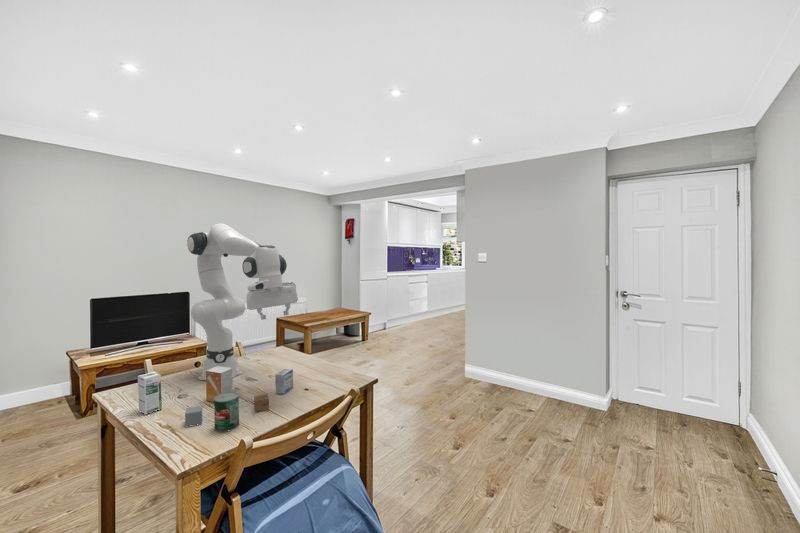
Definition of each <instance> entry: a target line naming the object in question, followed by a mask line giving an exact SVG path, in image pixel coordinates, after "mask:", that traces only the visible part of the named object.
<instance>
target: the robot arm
mask: <svg viewBox="0 0 800 533" xmlns="http://www.w3.org/2000/svg"><path fill="white" fill-rule="evenodd" d="M186 241H187V243H186V246H187V249H188V251H189V252H190V253H191V254H192V255H196V256H197V258H196V265H197V272H198V277H199V282H200V287H201V289H202V290H203V292H205V293H207V294H210V295H211V296H212V297H213V298H214V299H206V300H201V301H199V302H196V303H193V304H194V305H192V307H191V310H190V316H191V318H192V320H193V321H194V322H195V323H196V324H199V325H200V326H201V327H202V328H203V330H204V332H205V335H206V343H207V347H206V352H205V354H206V359H205V360H204V361H203V363H202V365H203V366H202V372H201V374H200V375H199V376H198V380H199V381H202V380H203V381H206V371H207V370H209V369H211V368H214V367H217V366H220V367H227V368H232V379H233V378H235V377H236V376H239V375H241V374H242V371H241V369H240V368H239V367H238V358H237V357H236V356H235V355H234V354H235V352H234V351H235V349H234V345H233V344H234V343H233V332H232V330H230V328H226V327H224V326H223V321H227V320H232V319H236V318H238V317H241V316H242V315H244V313H245V311H246V308H247V309H248V310H250V311H254V310H256V311H257V313H258V314H259V316H260V320H262V321H263V320H267V314H264V313H263V309H266V308H272V307H278V306H283V305H285V306H284V307H286V308H285V310H284V311H282V313H283V316H289V310H290V308H291V304H297V303H298V301H299V297H298V293H297V284H296V283H295V282H293V281H286V282H285V281H283V275H284V273H285V272H286V270H287V266H288V264H287V262H286V259H285V258H284V256H282V255H281V254H279V251H278V249H277V247H276V246H274V245H266V244H265V245H261V244H259V243H258V242H256V241H255V240H252V239H249V238H248V237H246V236H245V235H243V234H241V233H240V232H238V231H237V230H236V229H235V228H234V227H231V226H230V225H228V224H226V223H222V222H220V223H216V224H214V225H212V227H210V230H209V232H203V231H199V232H195V233H191V234H190V235H189V236H188V238H187V240H186ZM228 256H235V257H237V256H238V257H245V259H243V261H242V265H241V266H242V272H243V274H244V275H245V277H247V278H249V279H258V281H257V282H256V281H255V282H254V283H252V284H249V285H248V286H247V291H248V292H247V294H246V303H245V301H244V300H243V299H242V298H241V297H239V296H238V295H236V294H235V293H234V292H233V291H232V289H231V288H230V287H229V284H228V282H227V280H226V275H225V272H224V268H223V265H222V264H223V263H222V257H225V258H228Z"/></svg>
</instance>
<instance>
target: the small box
mask: <svg viewBox="0 0 800 533" xmlns="http://www.w3.org/2000/svg"><path fill="white" fill-rule="evenodd" d="M205 382H206V383H205V385H206V387H205V394H206V395H205V397H206V398H205V401H206V402H211V403H214V397H215V396H217V395H219V394H222V393H226V392H234V391H233V378H232V368H227V367H220V366H217V367H214V368H211V369H209V370H207V371H206V380H205Z"/></svg>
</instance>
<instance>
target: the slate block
mask: <svg viewBox="0 0 800 533" xmlns="http://www.w3.org/2000/svg"><path fill="white" fill-rule="evenodd" d="M184 417H185V418H184V420H185V422H184V423H185V424H184V427H185V426H190V425H196V426H198V425H197V424H201V425H203V424H202V423H203V405H197V406H191V407H187V408H186V409H185V413H184Z"/></svg>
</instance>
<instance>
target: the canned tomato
mask: <svg viewBox="0 0 800 533" xmlns="http://www.w3.org/2000/svg"><path fill="white" fill-rule="evenodd" d="M239 396H240V395H239V393H238V392H235V391H233V392H226V393H222V394H219V395H217V396H215V397H214V402H213V404H214V405H213V407H214V408H213V409H214V410H213V411H214V412H213V413H214V414H213V415H214V430H215V432H217V431H220V432H219V433H223V432H222V431H227V432H229V431H228V430H231V431H233V430H232V429H234V430H235V429H237V428H238V427H239V426H240V413H239V412H240V409H239V408H240V406H239V404H240V402H239V401H240V400H239V399H240V398H239Z"/></svg>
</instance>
